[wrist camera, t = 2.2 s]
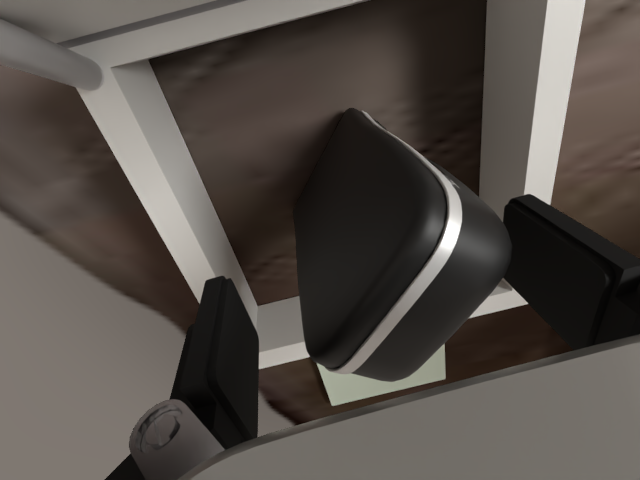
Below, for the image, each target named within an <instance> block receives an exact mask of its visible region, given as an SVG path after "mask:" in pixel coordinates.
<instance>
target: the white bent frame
mask: <svg viewBox="0 0 640 480" xmlns="http://www.w3.org/2000/svg"><path fill="white" fill-rule="evenodd" d="M366 1H369V0H0V65H3V66H7V67H10V68H13V69H17V70H20V71H23V72H27V73H30V74H33V75H37V76H40V77H44V78H47V79H50V80H54V81H57V82H60V83H64V84H67V85H70V86H74V87H76V89H77V91H78V92H79V94H80V96H81V98H82V99H83V101H84V103H85V105H86V106H87V108H88V110H89V112H90V113H91V115H92V117H93V119H94V120H95V122H96V124H97V126H98V127H99V129H100V131H101V133H102V134H103V136H104V138H105V140H106V141H107V143H108V145H109V147H110V148H111V150H112V152H113V154H114V155H115V157H116V159H117V161H118V162H119V164H120V166H121V168H122V169H123V171H124V173H125V175H126V176H127V178H128V180H129V182H130V183H131V185H132V187H133V189H134V190H135V192H136V194H137V195H138V197H139V199H140V201H141V202H142V204H143V206H144V208H145V209H146V211H147V213H148V215H149V216H150V218H151V220H152V222H153V223H154V225H155V227H156V229H157V230H158V232H159V234H160V236H161V237H162V239H163V241H164V243H165V244H166V246H167V248H168V250H169V251H170V253H171V255H172V257H173V258H174V260H175V262H176V264H177V265H178V267H179V269H180V271H181V272H182V274H183V276H184V278H185V279H186V281H187V283H188V285H189V286H190V288H191V290H192V292H193V293H194V295H195V297H196V299H197V300H198V302H199V304H200V301H201V297H202V293H203V288H204V284H205V281H206V280H208V279H212V278H215V277H219V276H224V277H225V278H226V279H228V278H231V279H232V281H233V283H234V285H235V287H236V289H237V291H238V293H239V295H240V297H241V299H242V302H243V304H244V306H245V308H246V310H247V312H248V314H249V316H250V318H251V321H252V323H253V325H254V327H255V329H256V331H257V334H258V338H259V369H262V368H266V367H270V366H275V365H279V364H283V363H287V362H291V361H295V360H299V359H303V358H308V357H310V356H309V354H308V352H307V350H306V346H305V341H304V335H303V326H302V318H301V309H300V299H299V296H297V297H293V298H289V299H285V300H281V301H276V302H272V303H268V304H264V305H260V306H257V303H256V301H255V299H254V297H253V294H252V292H251V290H250V288H249V285H248V283H247V281H246V279H245V276H244V274H243V272H242V270H241V267H240V265H239V263H238V261H237V258H236V256H235V254H234V252H233V249H232V247H231V245H230V243H229V240H228V238H227V236H226V234H225V231H224V229H223V227H222V225H221V222H220V220H219V218H218V216H217V213H216V211H215V209H214V207H213V204H212V202H211V200H210V198H209V195H208V193H207V191H206V189H205V187H204V184H203V182H202V180H201V178H200V175H199V173H198V171H197V169H196V166H195V164H194V162H193V160H192V157H191V155H190V153H189V151H188V148H187V146H186V144H185V142H184V139H183V137H182V135H181V133H180V130H179V128H178V126H177V124H176V121H175V119H174V117H173V115H172V112H171V110H170V108H169V106H168V103H167V101H166V99H165V97H164V94H163V92H162V90H161V88H160V85H159V83H158V81H157V79H156V76H155V74H154V72H153V70H152V67H151V65H150V63H149V61H148V59H151V58H155V57H159V56H163V55H166V54H170V53H174V52H178V51H181V50H185V49H189V48H193V47H197V46H200V45H204V44H208V43H212V42H215V41H219V40H223V39H227V38H230V37H234V36H238V35H242V34H245V33H249V32H253V31H257V30H260V29H264V28H268V27H272V26H275V25H279V24H283V23H287V22H290V21H294V20H298V19H302V18H305V17H309V16H313V15H317V14H321V13H324V12H328V11H332V10H336V9H339V8H343V7H347V6H351V5H354V4H358V3H362V2H366ZM584 6H585V0H487V15H486V39H485V63H484V87H483V111H482V135H481V159H480V184H479V198H481V199H482V200H483V201H484V202H485V203H486V204H487V205H488V206H489V207H490V208H491V209H492V210H493V211H495V213H496V214H497V215H498V217H499V218H500V219H501V221H502V222H503V215H504V207H505V205H507V204H508V202H509V200H510V199H512V198H515V197H519V196H523V195H526V194H531V195H534V196H535V197H537V198H539V199H540V200H542V201H544V202H545V203H547V204H549V205H550V203H551V197H552V192H553V186H554V180H555V174H556V168H557V163H558V157H559V151H560V145H561V139H562V134H563V128H564V122H565V116H566V110H567V104H568V99H569V93H570V87H571V81H572V75H573V70H574V64H575V58H576V52H577V46H578V41H579V35H580V29H581V23H582V17H583V12H584ZM526 304H528V303H527V302H526V301H525V300H524V299H523V298H522V297H521V296H520V295H519V294H518V293H517V292H516V290H515V289H514V288H513V287H512V286H511V285H510V284H509V283H508V282H507V281H506V280H505V279H504V278H502V280H501V281H500V282H499V284H498V285H497V286H496V288H495V289H494V290H493V292H492V293H491V294H490V295H489V296H488V297H487V298H486V299H485V300H484V302H483V303H482V304H481V305H480V306H479V307H478V308H477V309H476V310H475V311H474V313H473V314H472V315H471V316H470V317H469V318H472V317H476V316H480V315H485V314H489V313H493V312H497V311H501V310H505V309H509V308H513V307H517V306H522V305H526Z"/></svg>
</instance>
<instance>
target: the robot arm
mask: <svg viewBox="0 0 640 480" xmlns="http://www.w3.org/2000/svg"><path fill="white" fill-rule="evenodd" d="M503 223H504V225H505V227H506V229H507V231H508V233H509V237H510V240H511V243H512V253H511V262H510V264H509V266H508V269H507V271H506V273H505V276H504V277H503V278H504V279H505V280H506V281H507V282H508V283H509V284H510V285H511V286H512V287H513V288H514V289H515V290H516V292H517V293H518V294H519V295H520V296H521V297H522V298H523V299H524V300H525V301H526V302H527V303H528V304H529V305H530V306H531V307H532V308H533V309H534V310H535V311H536V312H537V313H538V314H539V315H540V316H541V317H542V318H543V319H544V320H545V321H546V322H547V323H548V324H549V325H550V326H551V327H552V328H553V329H554V330H555V331H556V332H557V333H558V334H559V335H560V336H561V337H562V339H563V340H564V341H565V342H566V343H567V344H568V345H569V346H570V347H571V348H572V349H573V350H574V351H571V352H567V353H563V354H559V355H555V356H551V357H548V358H544V359H540V360H536V361H532V362H529V363H525V364H521V365H517V366H513V367H509V368H506V369H502V370H498V371H494V372H491V373H487V374H483V375H479V376H476V377H472V378H468V379H464V380H461V381H457V382H453V383H449V384H446V385H442V386H438V387H435V388H431V389H427V390H423V391H420V392H416V393H412V394H408V395H405V396H401V397H397V398H394V399H390V400H386V401H383V402H379V403H375V404H372V405H368V406H365V407H361V408H357V409H354V410H350V411H346V412H343V413H339V414H335V415H332V416H328V417H324V418H321V419H317V420H314V421H310V422H307V423H304V424H300V425H297V426H293V427H290V428H287V429H283V430H280V431H276V432H273V433H270V434H266V435H264V436H261V437H258V438H257V432H258V378H259V338H258V334H257V331H256V329H255V327H254V325H253V323H252V321H251V318H250V316H249V314H248V312H247V310H246V308H245V306H244V304H243V302H242V299H241V297H240V295H239V293H238V291H237V289H236V287H235V285H234V283H233V281H232V279H231V278H228V279H226V278H225V277H224V276H219V277H215V278H212V279H208V280H206V281H205V284H204V288H203V293H202V297H201V301H200V305H199V309H198V314H197V318H196V322H195V324H192V325H191V326H190V327H189V328H188V331H187V335H186V339H185V342H184V346H183V350H182V354H181V358H180V362H179V366H178V370H177V373H176V378H175V381H174V385H173V389H172V393H171V396H170V400H166V401H163V402H161V403H159V404H156V405H155V406H154V407H152V408H151V409H149V410H148V411H147V412H146V413H145V414H144V415H143V416H142V417H141V418H140V419H139V421H138V422H137V424H136V425H135V427H134V428H133V431H132V433H131V436H130V441H129V448H130V452H131V454H130V455H129V456H128V457H127V458H126V459H125V460H124V461H123V462H122V463H121V464H120V465H119V466H118V467H117V468H116V469H115V470H114V471H113V472H112V473H111V474H110V475H109V476H108V477H107V478H106V479H105V480H640V259H638V258H637V257H635V256H633V255H632V254H630V253H628V252H627V251H625V250H623V249H622V248H620V247H618V246H617V245H615V244H613V243H612V242H610V241H608V240H607V239H605V238H603V237H602V236H600V235H598V234H597V233H595V232H593V231H592V230H590V229H589V228H587V227H585V226H584V225H582V224H580V223H579V222H577V221H575V220H574V219H572V218H570V217H569V216H567V215H565V214H564V213H562V212H560V211H559V210H557V209H555V208H554V207H552V206H550V205H549V204H547V203H545V202H544V201H542V200H540V199H539V198H537V197H535V196H534V195H531V194H526V195H523V196H519V197H515V198H512V199H510V200H509V202H508V204H507V205H505V207H504V215H503Z"/></svg>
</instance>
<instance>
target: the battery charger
mask: <svg viewBox="0 0 640 480" xmlns="http://www.w3.org/2000/svg"><path fill="white" fill-rule="evenodd" d="M293 217H294V225H295V235H296V255H297V273H298V287H299V299H300V309H301V318H302V326H303V335H304V341H305V346H306V350H307V352H308V354H309V356H310V358H311V359H312V360H313V361H314V362H315V363H318V364H320V365H322V366H324V367H325V368H326V369H327V370H328V371H330V372H334V373H338V374H343V375H344V374H350V373H352V374H356V375H360V376H364V377H368V378H372V379H376V380H380V381H387V382H394V381H398V380H402V379H404V378H407V377H409V376H410V375H412V374H413V373H414V372H415V371H417V370H418V369H419V368H420V367H421V366H422V365H423V364H424V363H425V362H426V361H427V360H428V359H429V358H430V357H431V356H432V355H433V354H434V353H435V352H436V351H437V350H438V349H439V348H440V347H441V346H442V345H443V344H444V343H445V342H446V341H447V340H448V339H449V338H450V337H451V336H452V335H453V334H454V333H455V332H456V331H457V330H458V329H459V328H460V327H461V326H462V325H463V323H464V322H465V321H466V320H467V319H468V318H469V317H470V316H471V315H472V314H473V313H474V311H475V310H476V309H477V308H478V307H479V306H480V305H481V304H482V303H483V302H484V300H485V299H486V298H487V297H488V296H489V295H490V294H491V293H492V292H493V290H494V289H495V288H496V286H497V285H498V284H499V282H500V281H501V280H502V278H503V277H504V276H505V273H506V271H507V269H508V266H509V264H510V262H511V253H512V243H511V240H510V237H509V233H508V231H507V229H506V227H505V225H504V223H503V222H502V221H501V219H500V218H499V217H498V215H497V214H496V213H495V211H493V210H492V209H491V208H490V207H489V206H488V205H487V204H486V203H485V202H484V201H483V200H482V199H481V198H479V197H478V196H477V195H476V194H475V193H474V192H473V191H472V190H470V189H469V188H468V187H467V186H466V185H464V184H463V183H462V182H461V181H460V180H458V179H457V178H456V177H454V176H453V175H452V174H450V173H449V172H448V171H446V170H445V169H444V168H442V167H441V166H440V165H438V164H437V163H435V162H433V161H431V160H429V159H427V158H426V157H424V156H422V155H421V154H420V153H418V152H417V151H416V150H415V149H413V148H412V147H411V146H409V145H408V144H407V143H405V142H404V141H402V140H401V139H399V138H398V137H396V136H395V135H393V134H391V133H390V132H388V131H387V130H386V129H385V128H384V127H383V126H382V125H381V124H380V123H379V122H378V121H376V120H374V119H373V118H371V117H370V116H369V114H368V113H366V112H364V111H362V110H360V111H358V110H357V109H354V108H349V109H347V110H346V112H345V113H344V115H343V117H342V119H341V120H340V122H339V124H338V126H337V128H336V130H335V132H334V133H333V135H332V137H331V139H330V141H329V143H328V145H327V147H326V148H325V150H324V152H323V154H322V156H321V158H320V160H319V162H318V163H317V165H316V167H315V169H314V171H313V173H312V175H311V177H310V179H309V181H308V183H307V184H306V186H305V188H304V190H303V192H302V194H301V196H300V198H299V200H298V202H297V204H296V206H295V208H294V210H293Z"/></svg>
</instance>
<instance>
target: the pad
mask: <svg viewBox="0 0 640 480" xmlns="http://www.w3.org/2000/svg"><path fill="white" fill-rule="evenodd" d="M317 365H318V368H319V371H320V374H321V377H322V379H323V382H324V385H325V388H326V391H327V393H328V396H329V399H330V402H331V404H332V406H334V405H339V404H343V403H347V402H351V401H355V400H360V399H364V398H368V397H372V396H376V395H380V394H385V393H389V392H393V391H397V390H401V389H406V388H410V387H414V386H418V385H422V384H426V383H431V382H435V381H439V380H443V379H446V375H445V343H444V344H443V345H442V346H441V347H440V348H439V349H438V350H437V351H436V352H435V353H434V354H433V355H432V356H431V357H430V358H429V359H428V360H427V361H426V362H425V363H424V364H423V365H422V366H421V367H420V368H419V369H418V370H417V371H415V372H414V373H413V374H412V375H410V376H409V377H407V378H404V379H402V380H398V381H394V382H387V381H380V380H376V379H372V378H368V377H364V376H360V375H356V374H352V373H350V374H344V375H343V374H338V373H334V372H330V371H328V370H327V369H326V368H325V367H324V366H322V365H320V364H318V363H317Z"/></svg>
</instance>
